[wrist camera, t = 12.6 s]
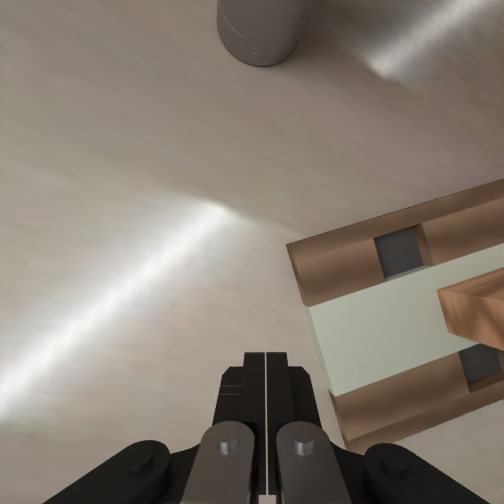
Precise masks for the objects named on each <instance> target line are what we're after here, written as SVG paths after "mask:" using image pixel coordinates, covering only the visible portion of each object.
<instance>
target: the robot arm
mask: <svg viewBox="0 0 504 504" xmlns="http://www.w3.org/2000/svg"><path fill="white" fill-rule="evenodd" d="M314 1H315V0H217V28H218V32H219V36H220V38H221V40H222V42H223V44H224V46H225V47H226V48H227V49H228V51H229V52H230V53H231V54H232V55H234V56H235V57H236V58H237V59H239V60H241V61H243V62H245V63H247V64H251V65H254V66H269V65H273V64H276V63H279V62H280V61H282V60H283V59H285V58H286V57H287V56H288V55H289V54H290V53H291V52H292V51H293V49H294V47H295V46H296V44H297V41H298V39H299V37H300V34H301V32H302V29H303V27H304V25H305V22H306V20H307V18H308V15H309V13H310V11H311V8H312V6H313V3H314ZM266 361H267V433H268V494H269V495H276V504H490V503H488V502H487V501H485V500H484V499H482V498H481V497H479V496H478V495H476V494H475V493H473V492H472V491H470V490H469V489H467V488H466V487H464V486H463V485H461V484H460V483H458V482H456V481H455V480H453V479H452V478H450V477H449V476H447V475H446V474H444V473H443V472H441V471H440V470H438V469H437V468H435V467H434V466H432V465H431V464H429V463H428V462H426V461H425V460H423V459H422V458H420V457H419V456H417V455H416V454H414V453H413V452H411V451H409V450H408V449H406V448H404V447H402V446H399V445H396V444H391V443H379V444H375V445H372V446H371V447H369V448H368V449H367V451H366V452H365V455H361V454H357V453H354V452H350V451H347V450H344V449H342V448H340V447H338V446H336V445H335V444H333V443H332V442H331V441H330V439H329V437H328V435H327V434H326V432H325V431H324V430H323V429H322V426H321V422H320V418H319V413H318V409H317V405H316V400H315V396H314V392H313V387H312V383H311V379H310V375H309V374H308V373H307V372H306V371H305V370H304V368H303V367H302V366H288V361H287V353H286V352H266ZM259 495H266V429H265V352H245V355H244V364H243V367H229V368H228V369H227V370H226V372H225V373H224V374H223V375H222V379H221V384H220V389H219V395H218V399H217V404H216V408H215V413H214V418H213V423H212V426H211V427H210V428H209V429H208V430H207V431H206V432H205V433H204V435H203V437H202V440H201V443H200V444H198V445H196V446H195V447H192V448H190V449H187V450H184V451H180V452H176V453H172V454H170V452H169V449H168V448H167V446H166V445H164V444H163V443H161V442H159V441H155V440H145V441H140V442H137V443H134V444H132V445H130V446H128V447H126V448H125V449H123V450H122V451H120V452H119V453H117V454H116V455H114V456H113V457H111V458H110V459H108V460H107V461H105V462H104V463H102V464H101V465H99V466H98V467H96V468H95V469H93V470H92V471H90V472H89V473H87V474H86V475H84V476H83V477H81V478H80V479H78V480H77V481H75V482H74V483H72V484H71V485H69V486H68V487H66V488H65V489H63V490H62V491H60V492H59V493H58V494H56V495H55V496H53V497H52V498H50V499H49V500H47V501H46V502H44V503H43V504H259Z"/></svg>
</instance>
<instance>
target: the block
mask: <svg viewBox="0 0 504 504" xmlns="http://www.w3.org/2000/svg"><path fill="white" fill-rule="evenodd" d="M437 294H438V298H439V301H440V305H441V308H442V312H443V315H444V319H445V323H446V326H447V330H448V333H451V334H454V335H457V336H460V337H463V338H466V339H469V340H472V341H475V342H478V343H482V344H485V345H488V346H491V347H494V348H497V349H500V350H503V351H504V267H502V268H499V269H496V270H493V271H491V272H488V273H485V274H482V275H479V276H476V277H473V278H470V279H467V280H464V281H461V282H458V283H455V284H452V285H449V286H446V287H443V288H440V289H437Z"/></svg>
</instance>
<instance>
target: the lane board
mask: <svg viewBox="0 0 504 504" xmlns="http://www.w3.org/2000/svg"><path fill="white" fill-rule="evenodd" d="M286 246H287V250H288V253H289V257H290V260H291V263H292V267H293V270H294V274H295V277H296V280H297V284H298V287H299V291H300V294H301V297H302V301H303V304H304V308H305V311H306V314H307V318H308V321H309V325H310V328H311V331H312V335H313V338H314V342H315V345H316V349H317V352H318V355H319V359H320V362H321V366H322V369H323V372H324V376H325V379H326V383H327V386H328V389H329V393H330V396H331V400H332V403H333V406H334V410H335V413H336V417H337V420H338V423H339V427H340V430H341V434H342V437H343V440H344V444H345V447H346V449H347V450H348V451H350V452H354V453H357V454H361V455H363V454H365V452H366V451H367V449H368V448H369V447H371V446H372V445H375V444H379V443H393V442H396V441H398V440H401V439H403V438H406V437H408V436H411V435H413V434H416V433H419V432H421V431H424V430H426V429H429V428H431V427H434V426H436V425H439V424H441V423H444V422H446V421H449V420H451V419H454V418H456V417H459V416H461V415H464V414H466V413H469V412H471V411H474V410H476V409H479V408H482V407H484V406H487V405H489V404H492V403H494V402H497V401H499V400H502V399H504V351H503V350H500V349H497V348H494V347H491V346H488V345H485V344H482V343H478V342H475V341H472V340H469V339H466V338H463V337H460V336H457V335H454V334H451V333H448V330H447V326H446V323H445V319H444V315H443V312H442V308H441V305H440V301H439V298H438V294H437V289H440V288H443V287H446V286H449V285H452V284H455V283H458V282H461V281H464V280H467V279H470V278H473V277H476V276H479V275H482V274H485V273H488V272H491V271H493V270H496V269H499V268H502V267H504V179H501V180H498V181H494V182H491V183H488V184H484V185H481V186H478V187H474V188H471V189H468V190H465V191H461V192H458V193H455V194H451V195H448V196H445V197H441V198H438V199H435V200H431V201H428V202H425V203H422V204H418V205H415V206H412V207H408V208H405V209H402V210H398V211H395V212H392V213H389V214H385V215H382V216H379V217H375V218H372V219H369V220H365V221H362V222H359V223H355V224H352V225H349V226H346V227H342V228H339V229H336V230H332V231H329V232H326V233H322V234H319V235H316V236H312V237H309V238H306V239H303V240H299V241H296V242H293V243H289V244H286Z"/></svg>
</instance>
